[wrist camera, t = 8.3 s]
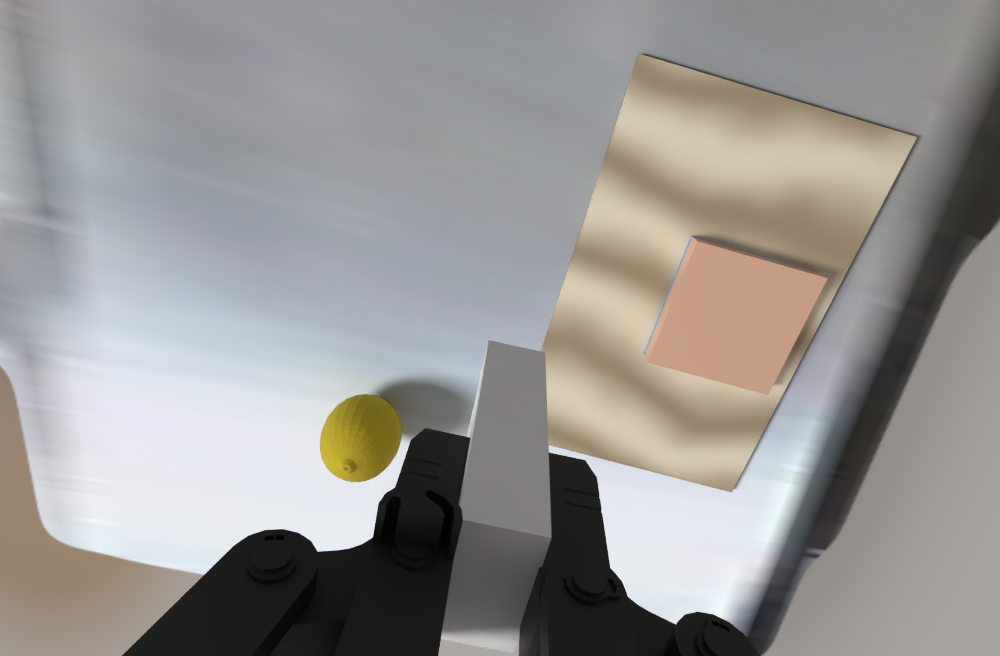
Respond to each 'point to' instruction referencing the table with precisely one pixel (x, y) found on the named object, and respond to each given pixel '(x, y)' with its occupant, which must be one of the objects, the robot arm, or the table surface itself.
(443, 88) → the table surface
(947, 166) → the table surface
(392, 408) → the lemon
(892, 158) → the board
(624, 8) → the table surface
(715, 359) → the tile
